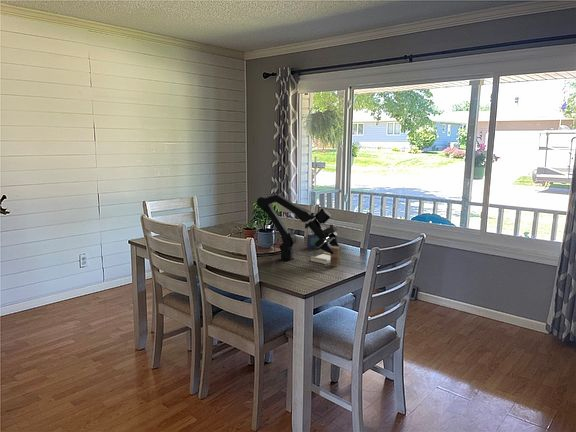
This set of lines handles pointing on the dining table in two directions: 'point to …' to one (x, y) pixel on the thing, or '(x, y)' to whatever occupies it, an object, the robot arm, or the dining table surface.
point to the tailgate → (322, 258)
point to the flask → (311, 241)
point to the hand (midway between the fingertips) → (336, 251)
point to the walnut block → (335, 256)
